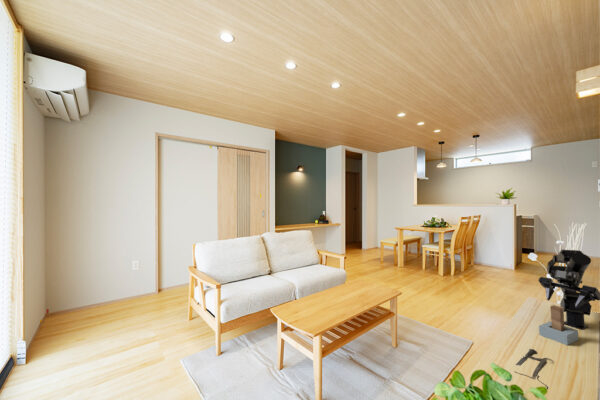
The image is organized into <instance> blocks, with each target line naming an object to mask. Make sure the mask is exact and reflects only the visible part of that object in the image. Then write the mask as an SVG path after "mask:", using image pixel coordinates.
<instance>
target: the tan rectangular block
mask: <svg viewBox="0 0 600 400" xmlns="http://www.w3.org/2000/svg"><path fill="white" fill-rule="evenodd" d="M550 322H551V326H552V328H553V329H556V330H559V331H562V332H563V331H565V328H564V326H565V324H564V322H565V312H564V309H563V307H561V306H560V305H556V304H553V305H550Z"/></svg>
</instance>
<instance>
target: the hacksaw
mask: <svg viewBox="0 0 600 400" xmlns="http://www.w3.org/2000/svg"><path fill="white" fill-rule="evenodd" d="M537 353H538V352H537V350H535V349H534V348H529V349H528V352H526V353H525V355H524V356H522V357H523V358H522V357H521V358H520V359H519V360H518V362H517V363H515V366H522V364H523V363H524V362H525V361H526V360H528V358H529V359H532V360H534V361H539V363H538V364H537V366H536V367H535V369H534V371H533V374H532V376H529V375H527V374H524V373H520V372H517V371H514V374H518V375H521V376H525V377H527V378H529V379H532V380H537V381H538V382H540V383H541V384H542V385H544V386H545V387H546V388H547V389H546V390H549V386H548V385H547V384H545V383H543V382H542V381H540V380H539V377H540V375H539V373H540V372H541V370H542V368H543V367H545V364H546V363H547V360H550V364H551V363H553V362H554V361H553V360H552V359H551V358H548V357H542V358H540V357H535V356H533V355H536V354H537ZM526 357H527V358H526Z"/></svg>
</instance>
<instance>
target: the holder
mask: <svg viewBox="0 0 600 400" xmlns="http://www.w3.org/2000/svg"><path fill="white" fill-rule="evenodd" d="M564 328H565V331H563V332H562V331H559V330H556V329H553V328H552V326H551V321H548V322H545V323H542V324H540V325H538V333H539V334H538V335H539V336H542V337H544V338H547V339H550V340H552V341H555V342H557V343H560V344H564V345H566V346H569V345H572V344H573V343H575V342H577V341H579V330H578V329H576V328H572V327H568V326H566V325H564Z"/></svg>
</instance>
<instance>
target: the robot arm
mask: <svg viewBox="0 0 600 400" xmlns="http://www.w3.org/2000/svg"><path fill="white" fill-rule="evenodd" d="M591 262H592V258H591V257H590V256H589V255H587V254H585V253H584V252H583V251H581V250H577V249H560V251H559V252H558V254H553V255H552V258H551V259H550V261H548V262H547V266H546V272H547V274H548V275H549V276H550V277H544V276H540V277H539V278H538V280H537V281H538V282H539V284H540V285H541V286H542V288H544V289H545V295H546V300H547V301H550V300H551V299H552V297H553V295H554V293H555V289H556V288H560V290H561V292H562V293H563V295H562V297H563V298H561V301H560V304H559V306H560V307H563V309H564V313H565V319H566V320H564V325H565V326H566V325H567V326H570V327H571V328H572V327H573V328H574V329H579V330H584V329H586V328H589V325H588V324H585V323H586V322H585V316H591V311H592V305H591V302H592V301H593V302H596V301H600V290H599V289H598V288H597V287H595V286H592V285H585V284H583V276H584V274H585V271H586V270H587V269H588V268H589V266H590V264H591ZM556 263H559V264H565V265H566V266H564V265H556ZM553 279H554V280H556V281H557V282H555V281H554V280H553ZM581 284H583V285H582V287H580V285H581Z"/></svg>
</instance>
